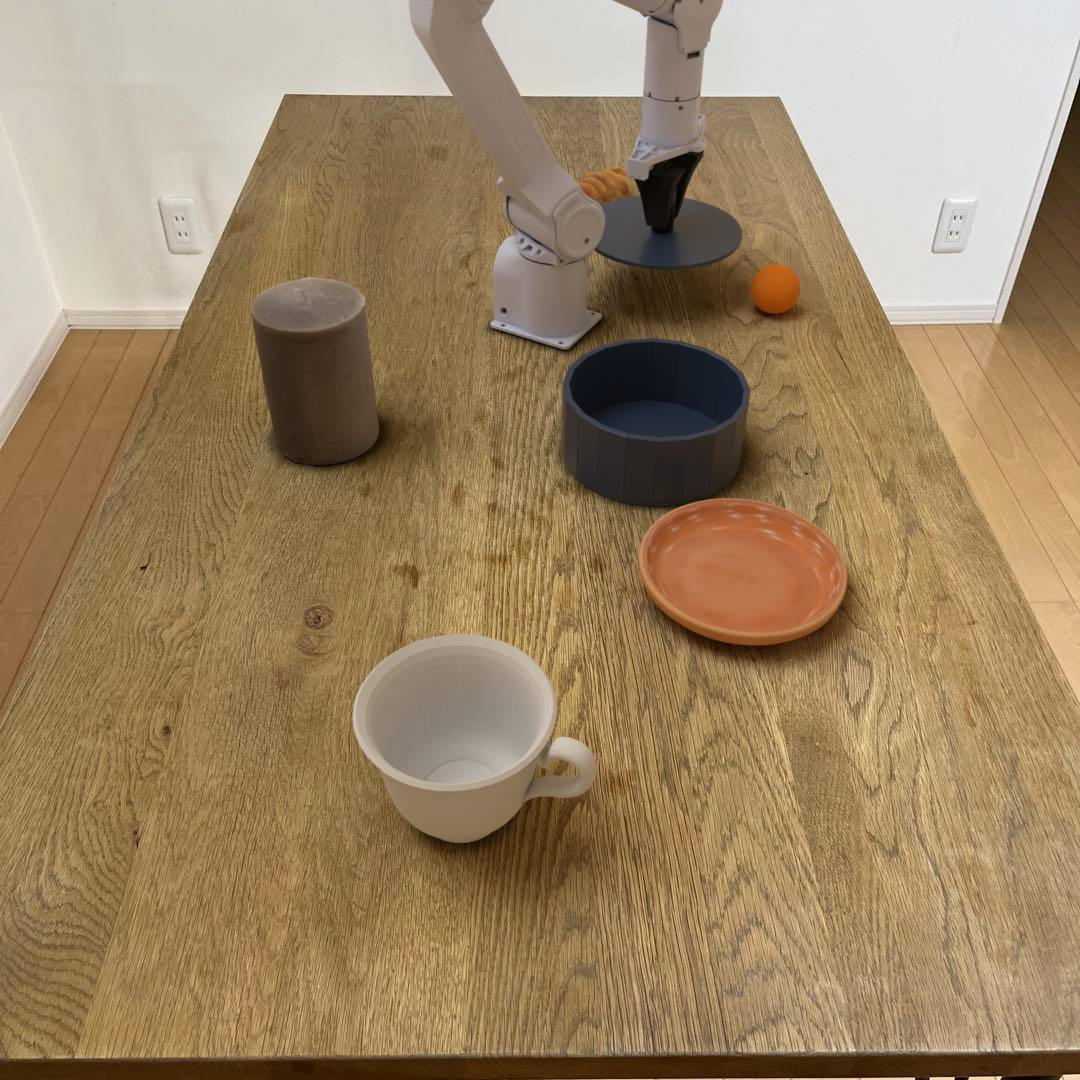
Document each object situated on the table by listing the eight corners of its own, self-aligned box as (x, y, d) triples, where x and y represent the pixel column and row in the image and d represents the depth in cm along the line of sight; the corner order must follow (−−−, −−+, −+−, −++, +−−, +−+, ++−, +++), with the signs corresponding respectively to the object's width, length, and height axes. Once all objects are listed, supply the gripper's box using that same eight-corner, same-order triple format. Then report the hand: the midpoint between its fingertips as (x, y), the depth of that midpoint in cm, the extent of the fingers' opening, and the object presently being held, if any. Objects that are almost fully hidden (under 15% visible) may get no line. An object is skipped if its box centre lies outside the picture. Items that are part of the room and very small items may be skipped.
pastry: (585, 222, 137) (586, 192, 135) (551, 205, 141) (551, 175, 139) (641, 202, 142) (643, 173, 139) (606, 186, 146) (607, 157, 143)
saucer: (838, 535, 92) (844, 507, 90) (844, 676, 80) (852, 647, 78) (646, 514, 94) (649, 486, 92) (625, 648, 82) (627, 620, 81)
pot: (529, 470, 99) (528, 404, 94) (613, 384, 110) (616, 322, 105) (695, 529, 93) (703, 462, 88) (767, 432, 103) (777, 368, 99)
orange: (740, 314, 120) (746, 270, 117) (758, 294, 124) (764, 251, 120) (785, 327, 118) (793, 282, 115) (802, 306, 122) (810, 262, 118)
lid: (553, 251, 118) (554, 200, 114) (626, 192, 129) (629, 145, 126) (701, 290, 112) (707, 238, 108) (765, 225, 123) (772, 176, 119)
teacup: (553, 934, 65) (556, 835, 58) (334, 848, 69) (313, 747, 63) (622, 779, 73) (631, 678, 67) (422, 712, 78) (412, 610, 71)
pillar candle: (280, 474, 99) (251, 325, 89) (270, 414, 106) (242, 270, 96) (388, 456, 100) (372, 309, 91) (371, 399, 108) (355, 256, 98)
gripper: (677, 122, 104) (666, 256, 113) (737, 77, 113) (723, 204, 122) (610, 108, 107) (605, 240, 116) (675, 65, 116) (665, 190, 125)
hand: (661, 220), depth 119 cm, fingers closed on lid, 2 cm apart
